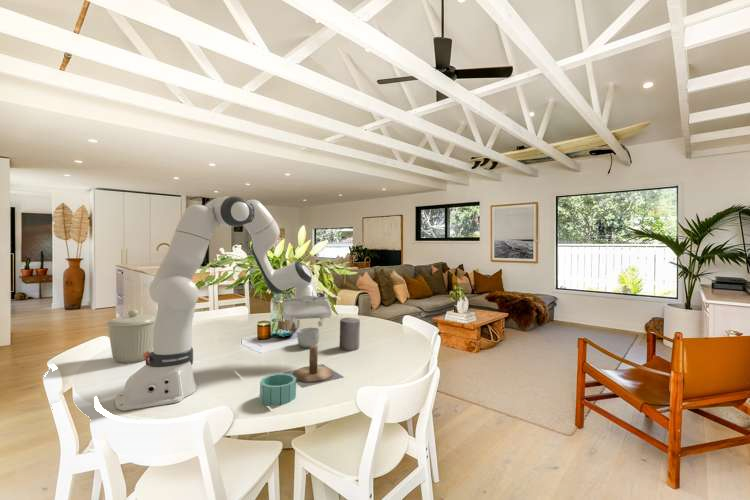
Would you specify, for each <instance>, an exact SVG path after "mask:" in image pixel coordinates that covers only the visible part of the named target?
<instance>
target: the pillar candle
mask: <svg viewBox="0 0 750 500" xmlns="http://www.w3.org/2000/svg"><path fill="white" fill-rule="evenodd" d="M360 327H361V320H360V318H357V317H342V318H340V321H339V349H340V350H342V351H349V352H350V351H357V350H359V348H360V334H361V333H360V329H361V328H360Z"/></svg>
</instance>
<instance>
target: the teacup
mask: <svg viewBox="0 0 750 500" xmlns="http://www.w3.org/2000/svg"><path fill="white" fill-rule="evenodd" d="M296 335H297V343H298V345H300V346H301V347H302V348H310V346H312V345H316V346H317V344H318V343H319V342H320V328H319V327H313V326H309V327H303V328H298V329H297V331H296Z"/></svg>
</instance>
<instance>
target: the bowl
mask: <svg viewBox="0 0 750 500" xmlns="http://www.w3.org/2000/svg"><path fill="white" fill-rule="evenodd" d="M259 385H260V386H259V402H260V403H261V404H262V405H263V406H268V407H270V406H280V405H284V404H288V403H290V402H292V401H294V400H295V399H296V398H297V383H296V377H295V376H293V375H290V374H284V373H273V374H270V375H267V376H264V377H262V379H261V380H260V381H259Z"/></svg>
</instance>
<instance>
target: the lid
mask: <svg viewBox="0 0 750 500" xmlns="http://www.w3.org/2000/svg"><path fill="white" fill-rule="evenodd" d="M318 349H319V347H318V345H317V344H316V345H312V346H310V347H309V359H308V360H309V366H307V365H306V366H303V367H299V368H297V369H294V370H295V371H294V372H293V376H295V377H296V380H297V381H301V382H308V383H313V382H321V381H325V380H328V379H330V378H331V377H332V376H333V371H334V370H333V369H331V368H330V367H328V366H327V367H324V366H317V365H318V359H319V357H318V352H319V351H318Z"/></svg>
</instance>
